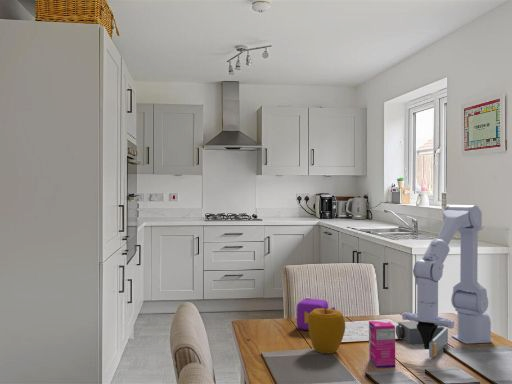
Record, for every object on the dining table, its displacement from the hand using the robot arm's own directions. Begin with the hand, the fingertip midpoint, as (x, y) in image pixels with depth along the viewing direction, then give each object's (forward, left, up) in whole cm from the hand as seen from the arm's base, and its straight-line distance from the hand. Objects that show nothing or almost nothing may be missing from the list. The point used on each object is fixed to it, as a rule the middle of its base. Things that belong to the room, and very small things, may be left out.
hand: (427, 348), depth 140 cm
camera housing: (-6, -15, -2) cm, 16 cm away
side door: (-6, -4, -2) cm, 7 cm away
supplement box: (+15, +4, -3) cm, 16 cm away
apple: (+27, -9, -3) cm, 29 cm away
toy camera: (+23, -33, -3) cm, 41 cm away
